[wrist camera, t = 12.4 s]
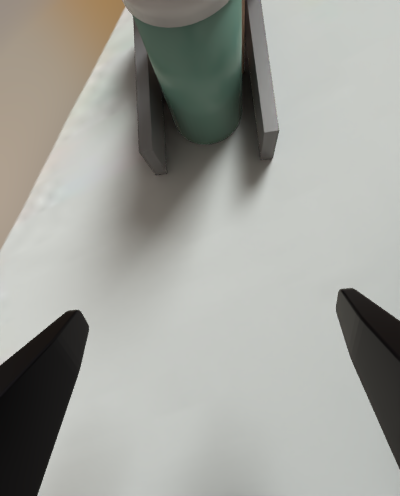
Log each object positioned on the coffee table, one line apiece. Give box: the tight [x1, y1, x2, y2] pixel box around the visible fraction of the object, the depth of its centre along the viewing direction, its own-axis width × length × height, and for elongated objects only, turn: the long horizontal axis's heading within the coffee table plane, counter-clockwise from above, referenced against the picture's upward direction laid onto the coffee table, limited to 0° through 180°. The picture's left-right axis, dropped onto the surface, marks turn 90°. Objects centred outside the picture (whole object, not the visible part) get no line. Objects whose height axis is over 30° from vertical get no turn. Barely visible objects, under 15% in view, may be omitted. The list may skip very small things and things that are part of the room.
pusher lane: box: [133, 0, 279, 175], centre depth 22 cm, size 15×10×7 cm, turn 5°
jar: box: [122, 0, 242, 144], centre depth 18 cm, size 6×6×12 cm
